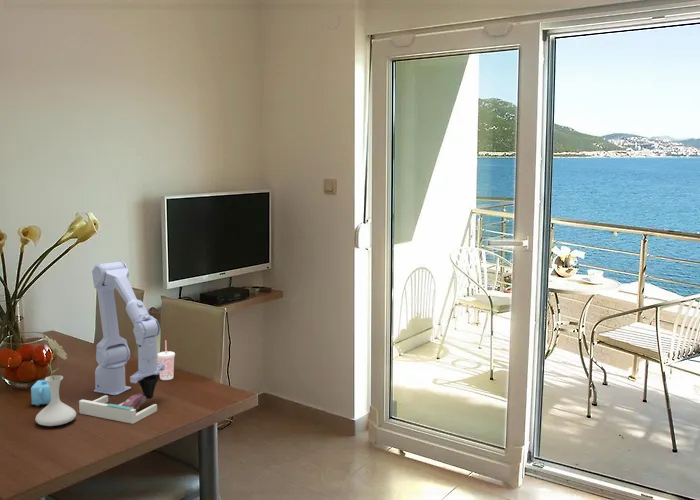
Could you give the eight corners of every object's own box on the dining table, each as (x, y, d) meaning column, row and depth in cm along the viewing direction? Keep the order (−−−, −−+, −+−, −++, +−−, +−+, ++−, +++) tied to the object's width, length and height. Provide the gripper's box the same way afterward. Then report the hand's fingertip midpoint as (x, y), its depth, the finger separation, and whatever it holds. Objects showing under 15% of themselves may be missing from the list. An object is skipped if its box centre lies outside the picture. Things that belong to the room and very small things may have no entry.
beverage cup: (154, 380, 246) (153, 341, 244) (162, 374, 252) (161, 337, 250) (171, 381, 245) (170, 343, 243) (178, 375, 251) (177, 338, 249)
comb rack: (79, 413, 215) (78, 400, 214) (105, 401, 225) (104, 388, 225) (132, 423, 207) (132, 410, 207) (157, 410, 218) (156, 397, 217)
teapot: (42, 395, 230) (40, 373, 229) (61, 395, 231) (60, 373, 230) (30, 409, 218) (29, 386, 217) (50, 408, 219) (49, 385, 218)
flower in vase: (78, 425, 205) (74, 344, 202) (36, 432, 200) (31, 348, 197) (74, 410, 217) (70, 333, 213) (34, 416, 212) (30, 337, 208)
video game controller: (123, 423, 212) (131, 405, 210) (112, 415, 213) (120, 396, 211) (143, 411, 221) (151, 394, 219) (132, 404, 222) (139, 386, 220)
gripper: (142, 365, 212) (144, 407, 214) (171, 352, 225) (172, 392, 227) (124, 362, 215) (125, 403, 217) (154, 349, 228) (155, 389, 230)
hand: (148, 397), depth 222 cm, fingers closed
